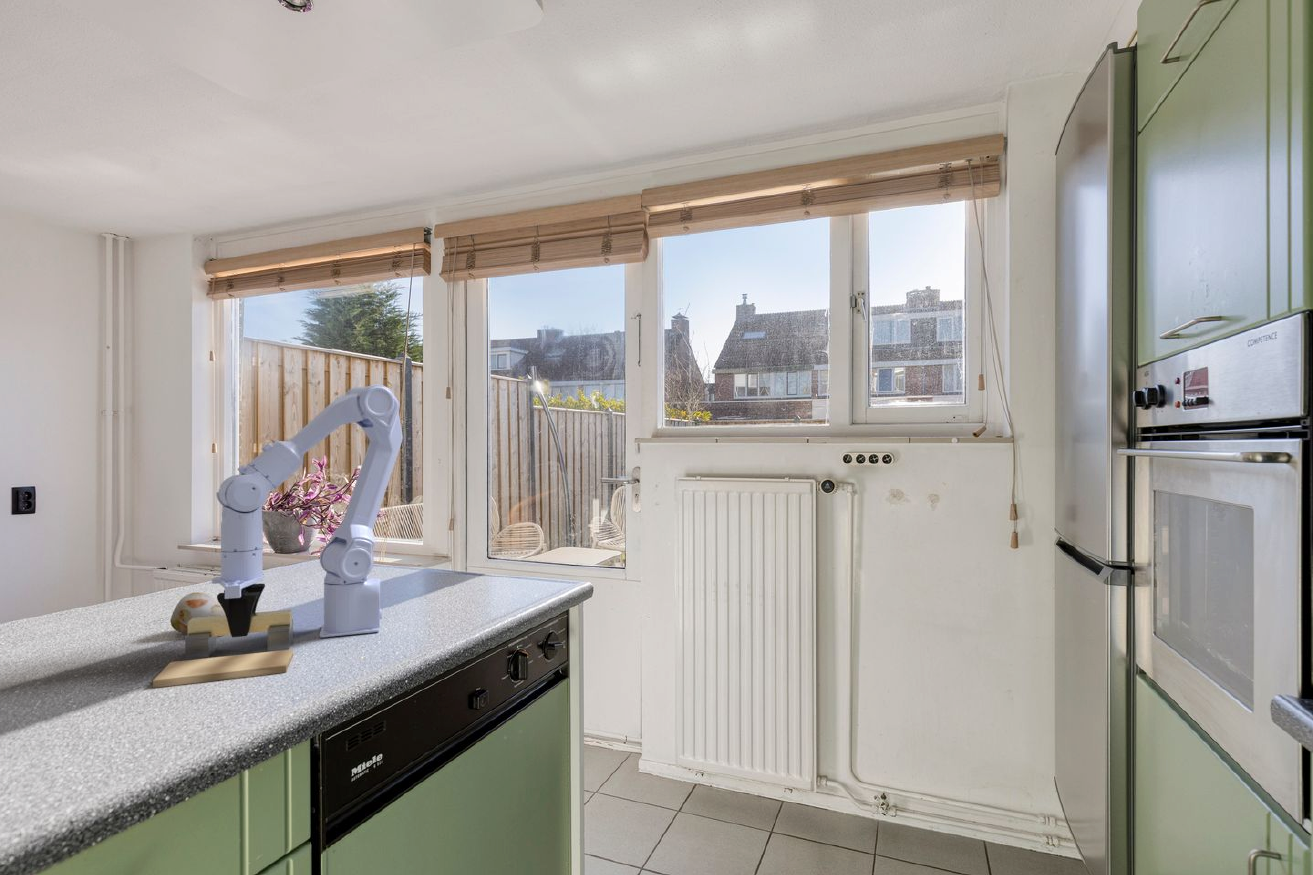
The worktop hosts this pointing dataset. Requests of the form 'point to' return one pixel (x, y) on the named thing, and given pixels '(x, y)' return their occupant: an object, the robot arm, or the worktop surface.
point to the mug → (194, 610)
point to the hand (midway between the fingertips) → (241, 633)
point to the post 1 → (199, 646)
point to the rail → (257, 624)
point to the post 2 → (280, 638)
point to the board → (224, 668)
